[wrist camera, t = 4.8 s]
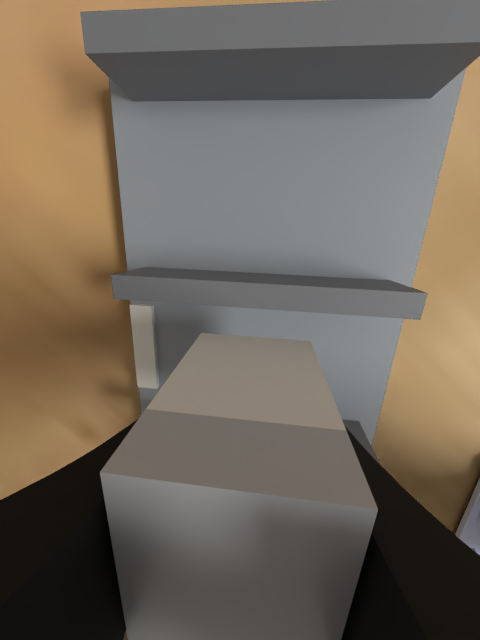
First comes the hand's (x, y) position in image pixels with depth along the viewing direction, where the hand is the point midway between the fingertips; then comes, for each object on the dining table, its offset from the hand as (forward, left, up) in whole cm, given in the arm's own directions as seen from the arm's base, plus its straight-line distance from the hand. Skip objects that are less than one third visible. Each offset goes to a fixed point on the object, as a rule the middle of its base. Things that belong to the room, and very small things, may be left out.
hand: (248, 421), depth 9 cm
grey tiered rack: (0, 0, -6) cm, 6 cm away
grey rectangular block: (0, 0, -1) cm, 1 cm away
